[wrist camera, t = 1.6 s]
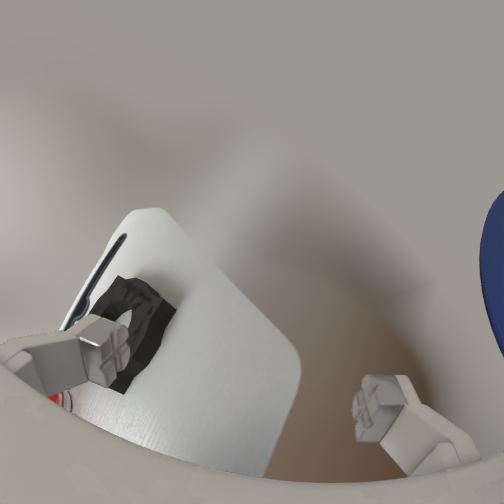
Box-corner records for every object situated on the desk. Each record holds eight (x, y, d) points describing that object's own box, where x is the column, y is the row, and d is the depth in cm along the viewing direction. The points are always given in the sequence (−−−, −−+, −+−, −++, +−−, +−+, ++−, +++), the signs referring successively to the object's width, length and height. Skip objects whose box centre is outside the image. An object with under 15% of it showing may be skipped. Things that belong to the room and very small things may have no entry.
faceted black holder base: (129, 279, 39) (118, 269, 37) (185, 306, 31) (172, 294, 29) (82, 352, 33) (69, 344, 31) (124, 404, 25) (107, 397, 23)
